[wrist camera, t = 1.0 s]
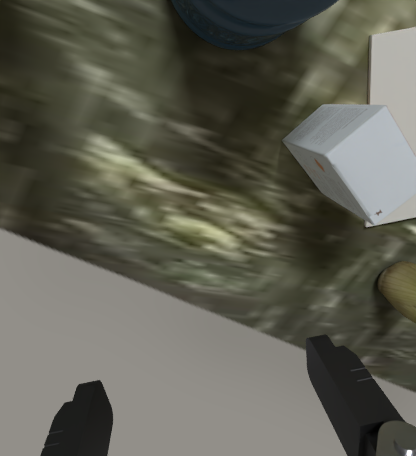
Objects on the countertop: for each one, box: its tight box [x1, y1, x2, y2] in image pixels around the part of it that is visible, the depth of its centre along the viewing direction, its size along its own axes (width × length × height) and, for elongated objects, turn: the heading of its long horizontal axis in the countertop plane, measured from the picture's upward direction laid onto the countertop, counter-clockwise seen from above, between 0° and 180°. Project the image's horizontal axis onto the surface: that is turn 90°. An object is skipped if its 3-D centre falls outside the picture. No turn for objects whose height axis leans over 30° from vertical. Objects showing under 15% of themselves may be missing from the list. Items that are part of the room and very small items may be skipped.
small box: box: [282, 104, 416, 225], centre depth 29 cm, size 8×6×10 cm
